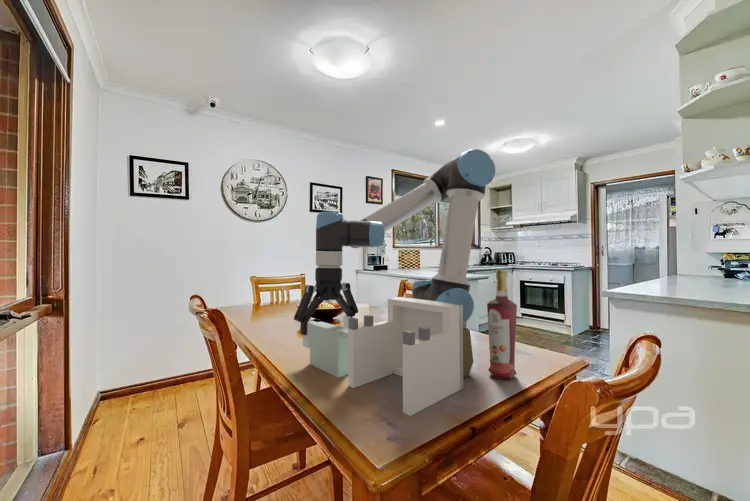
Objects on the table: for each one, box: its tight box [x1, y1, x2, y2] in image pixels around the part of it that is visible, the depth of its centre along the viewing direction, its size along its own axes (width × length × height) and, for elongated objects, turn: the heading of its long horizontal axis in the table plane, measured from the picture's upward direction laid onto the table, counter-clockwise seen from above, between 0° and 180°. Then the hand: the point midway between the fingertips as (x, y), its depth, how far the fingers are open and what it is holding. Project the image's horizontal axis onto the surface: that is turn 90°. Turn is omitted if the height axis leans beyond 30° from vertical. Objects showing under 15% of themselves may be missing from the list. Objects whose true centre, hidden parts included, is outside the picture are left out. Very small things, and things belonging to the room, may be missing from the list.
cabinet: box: [347, 296, 464, 417], centre depth 77 cm, size 19×20×20 cm
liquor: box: [486, 269, 518, 380], centre depth 84 cm, size 7×7×28 cm
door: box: [308, 320, 348, 378], centre depth 90 cm, size 4×20×12 cm, turn 43°
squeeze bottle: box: [463, 320, 474, 378], centre depth 86 cm, size 8×8×18 cm
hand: (327, 342), depth 90 cm, fingers open, 13 cm apart
